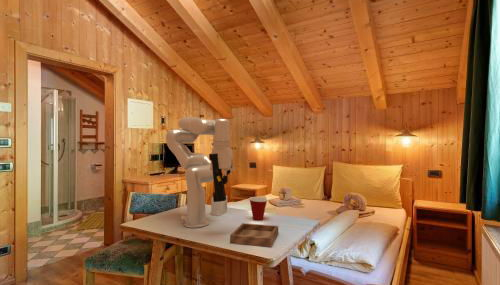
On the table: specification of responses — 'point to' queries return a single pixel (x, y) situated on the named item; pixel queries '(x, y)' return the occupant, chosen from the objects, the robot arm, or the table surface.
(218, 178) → the portable radio
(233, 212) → the table surface
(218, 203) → the skincare box
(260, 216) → the plastic cup
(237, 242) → the wooden tray
